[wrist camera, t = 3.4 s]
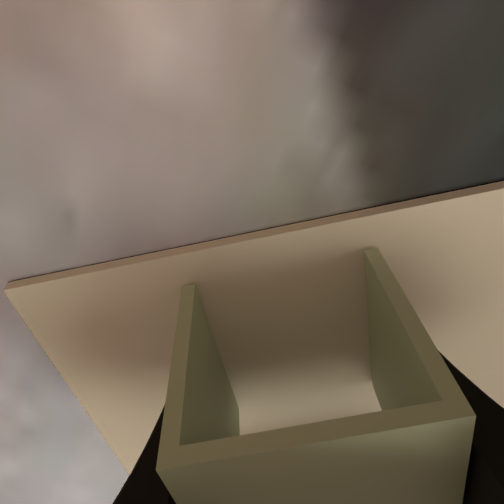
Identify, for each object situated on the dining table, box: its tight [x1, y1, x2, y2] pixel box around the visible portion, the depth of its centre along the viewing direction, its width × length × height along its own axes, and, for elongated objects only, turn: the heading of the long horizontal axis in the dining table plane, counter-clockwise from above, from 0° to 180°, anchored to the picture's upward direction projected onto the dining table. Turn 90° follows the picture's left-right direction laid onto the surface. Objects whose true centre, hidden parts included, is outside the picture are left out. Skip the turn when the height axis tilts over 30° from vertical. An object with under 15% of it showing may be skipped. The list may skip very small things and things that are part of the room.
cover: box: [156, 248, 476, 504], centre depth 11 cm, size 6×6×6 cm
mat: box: [3, 181, 504, 475], centre depth 17 cm, size 18×16×1 cm
